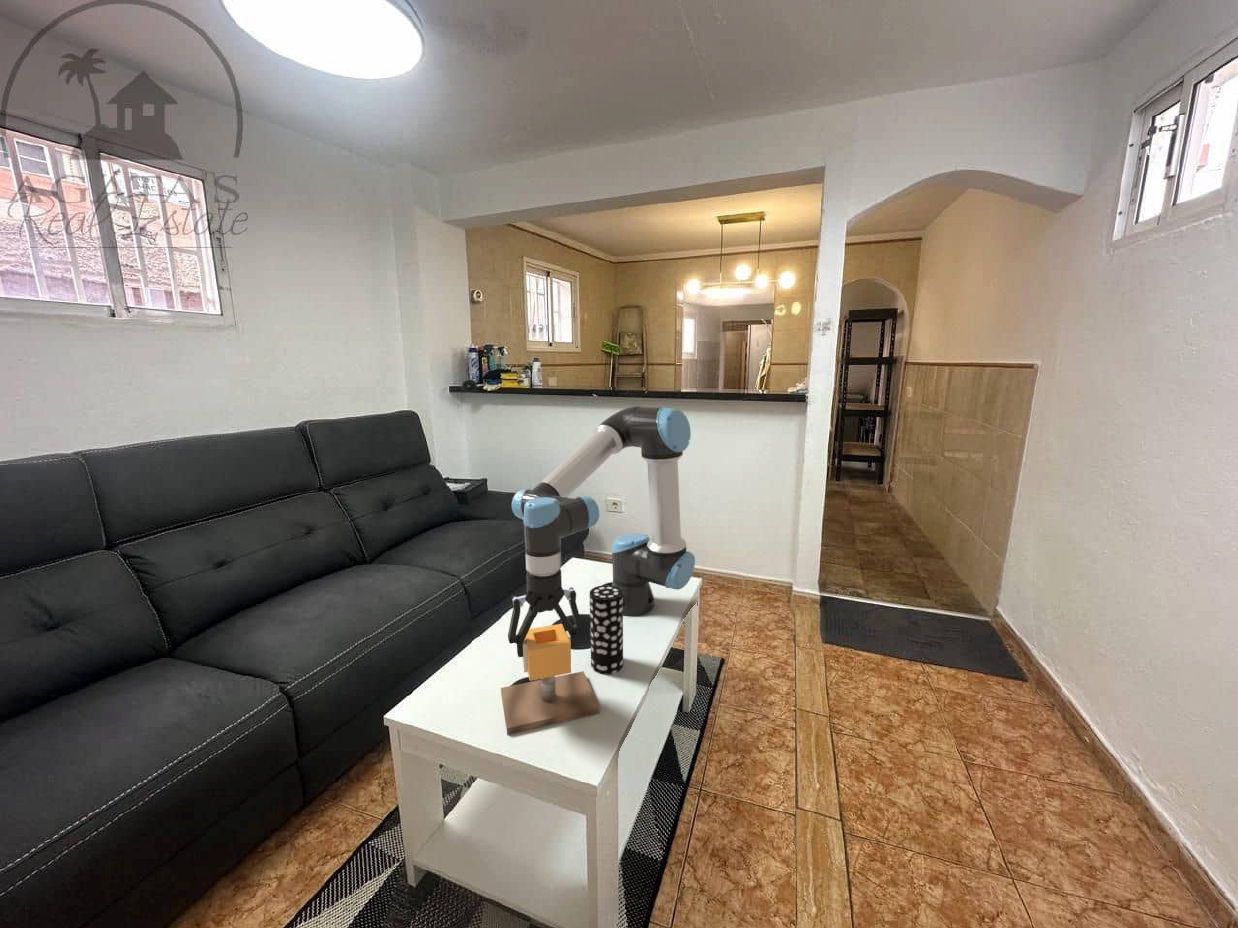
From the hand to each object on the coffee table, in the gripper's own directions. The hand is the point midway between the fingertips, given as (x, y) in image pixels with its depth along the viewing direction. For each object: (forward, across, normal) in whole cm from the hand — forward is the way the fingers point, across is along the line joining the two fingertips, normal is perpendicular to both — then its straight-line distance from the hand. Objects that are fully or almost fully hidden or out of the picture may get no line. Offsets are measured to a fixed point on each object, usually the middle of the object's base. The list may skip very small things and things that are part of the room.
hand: (547, 664), depth 109 cm
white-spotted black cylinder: (+10, -17, -10) cm, 22 cm away
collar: (0, 0, 0) cm, 0 cm away
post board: (+10, 0, 0) cm, 10 cm away
